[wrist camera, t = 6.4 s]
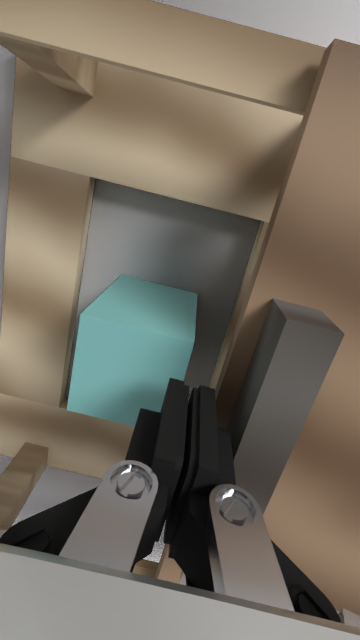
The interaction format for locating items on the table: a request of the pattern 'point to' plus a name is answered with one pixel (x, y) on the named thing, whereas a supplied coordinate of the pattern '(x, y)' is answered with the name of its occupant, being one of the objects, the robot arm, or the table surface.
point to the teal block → (131, 349)
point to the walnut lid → (305, 349)
